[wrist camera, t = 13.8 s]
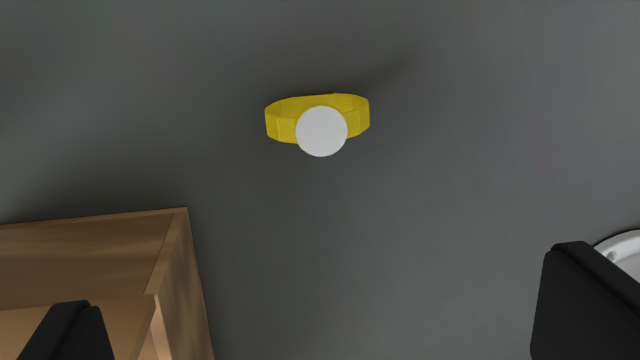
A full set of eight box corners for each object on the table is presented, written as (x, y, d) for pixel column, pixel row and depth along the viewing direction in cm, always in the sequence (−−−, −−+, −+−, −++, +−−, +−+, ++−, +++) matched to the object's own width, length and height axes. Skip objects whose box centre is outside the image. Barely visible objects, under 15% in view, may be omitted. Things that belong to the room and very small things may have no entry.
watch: (357, 78, 29) (381, 98, 23) (360, 121, 30) (382, 150, 24) (262, 88, 28) (263, 111, 23) (268, 131, 29) (270, 163, 24)
